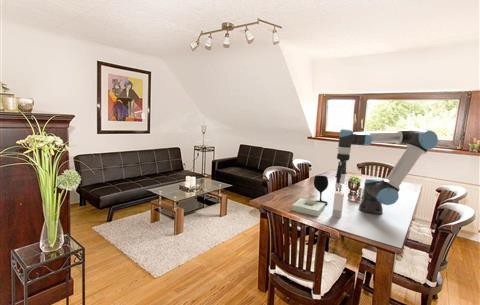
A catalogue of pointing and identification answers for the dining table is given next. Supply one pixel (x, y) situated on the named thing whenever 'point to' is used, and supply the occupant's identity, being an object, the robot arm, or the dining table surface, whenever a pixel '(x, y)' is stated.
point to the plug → (338, 204)
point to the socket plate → (308, 207)
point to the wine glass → (321, 185)
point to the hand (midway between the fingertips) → (339, 185)
